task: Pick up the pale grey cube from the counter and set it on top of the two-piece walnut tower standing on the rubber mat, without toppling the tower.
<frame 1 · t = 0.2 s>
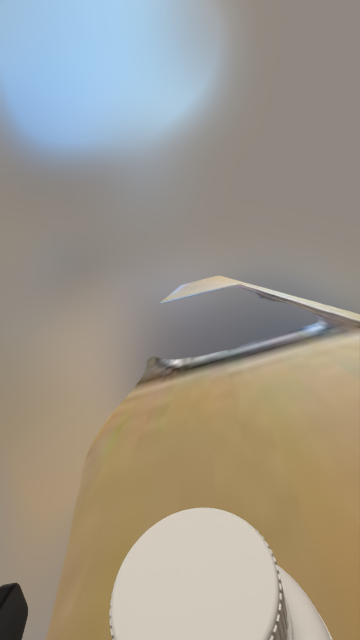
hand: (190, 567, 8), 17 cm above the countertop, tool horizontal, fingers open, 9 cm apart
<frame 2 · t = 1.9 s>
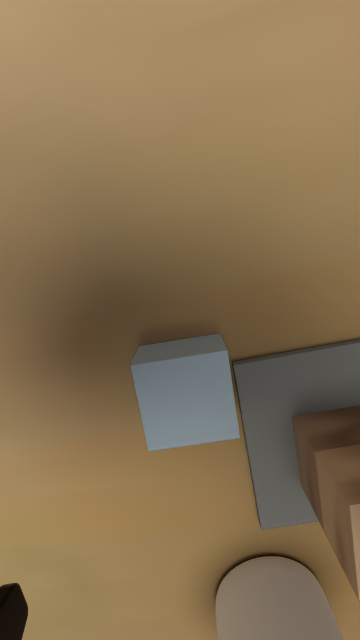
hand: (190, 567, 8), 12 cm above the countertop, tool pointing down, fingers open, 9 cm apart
mat: (330, 432, 21), on the countertop
pill bottle: (267, 592, 24), on the countertop
pale grey cube: (185, 376, 20), on the countertop
tower base: (336, 445, 20), point 1 cm above the countertop, touching mat, tower top
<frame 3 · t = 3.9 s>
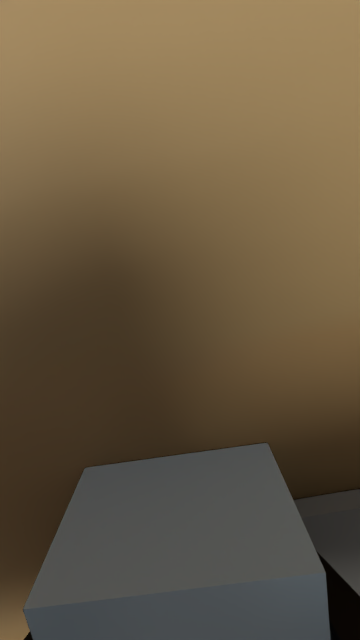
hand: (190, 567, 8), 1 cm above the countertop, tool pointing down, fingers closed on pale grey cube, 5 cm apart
pale grey cube: (189, 531, 9), on the countertop, touching gripper
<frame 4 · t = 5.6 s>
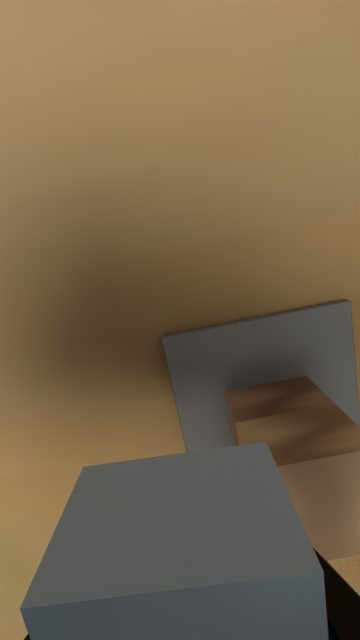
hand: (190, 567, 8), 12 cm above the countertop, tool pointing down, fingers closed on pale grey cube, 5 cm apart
mat: (266, 408, 20), on the countertop
tower top: (291, 456, 16), point 4 cm above the countertop, touching tower base
pale grey cube: (187, 530, 9), point 11 cm above the countertop, touching gripper
tower base: (270, 420, 20), point 1 cm above the countertop, touching mat, tower top
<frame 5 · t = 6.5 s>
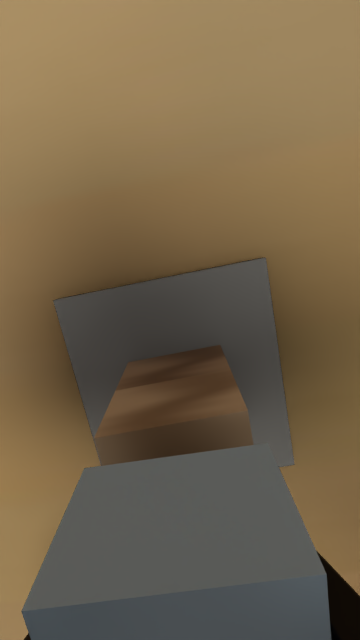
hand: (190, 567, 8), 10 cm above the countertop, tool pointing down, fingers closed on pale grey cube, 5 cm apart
mat: (181, 383, 18), on the countertop
tower top: (183, 431, 14), point 4 cm above the countertop, touching tower base
pale grey cube: (188, 532, 9), point 9 cm above the countertop, touching gripper
tower base: (182, 395, 17), point 1 cm above the countertop, touching mat, tower top
when the fingers open (10 cm above the countertop, at t = 7.4 s): pale grey cube stays where it is, resting on tower top.
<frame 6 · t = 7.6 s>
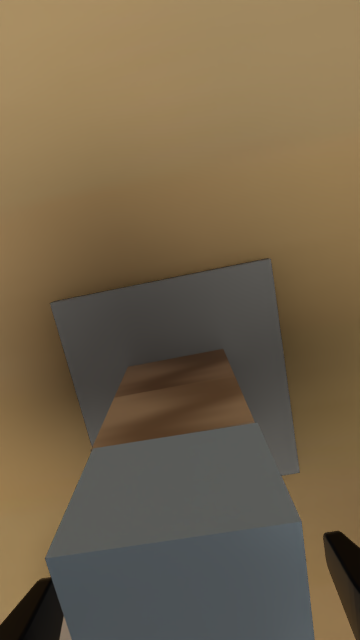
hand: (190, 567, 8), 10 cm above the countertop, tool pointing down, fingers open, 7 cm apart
mat: (182, 388, 17), on the countertop
tower top: (185, 440, 13), point 4 cm above the countertop, touching pale grey cube, tower base
pale grey cube: (188, 505, 10), point 8 cm above the countertop, touching tower top
tower base: (184, 401, 17), point 1 cm above the countertop, touching mat, tower top
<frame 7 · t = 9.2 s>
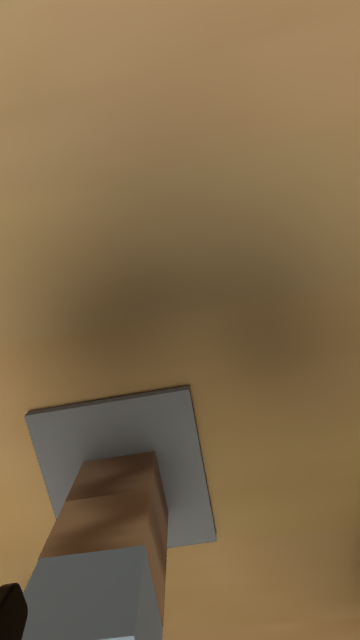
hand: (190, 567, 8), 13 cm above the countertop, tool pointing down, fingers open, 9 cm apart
mat: (126, 475, 23), on the countertop
tower top: (116, 531, 19), point 4 cm above the countertop, touching pale grey cube, tower base
pale grey cube: (102, 594, 15), point 8 cm above the countertop, touching tower top
tower base: (126, 487, 22), point 1 cm above the countertop, touching mat, tower top
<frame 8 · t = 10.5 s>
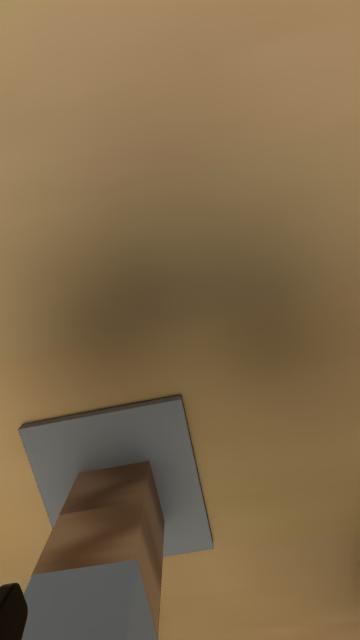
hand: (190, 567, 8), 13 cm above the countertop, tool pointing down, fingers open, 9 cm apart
mat: (121, 485, 23), on the countertop
tower top: (111, 543, 19), point 4 cm above the countertop, touching pale grey cube, tower base
pale grey cube: (96, 608, 15), point 8 cm above the countertop, touching tower top
tower base: (122, 497, 22), point 1 cm above the countertop, touching mat, tower top
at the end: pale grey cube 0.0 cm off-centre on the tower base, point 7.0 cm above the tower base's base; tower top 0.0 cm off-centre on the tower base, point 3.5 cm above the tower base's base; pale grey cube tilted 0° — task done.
